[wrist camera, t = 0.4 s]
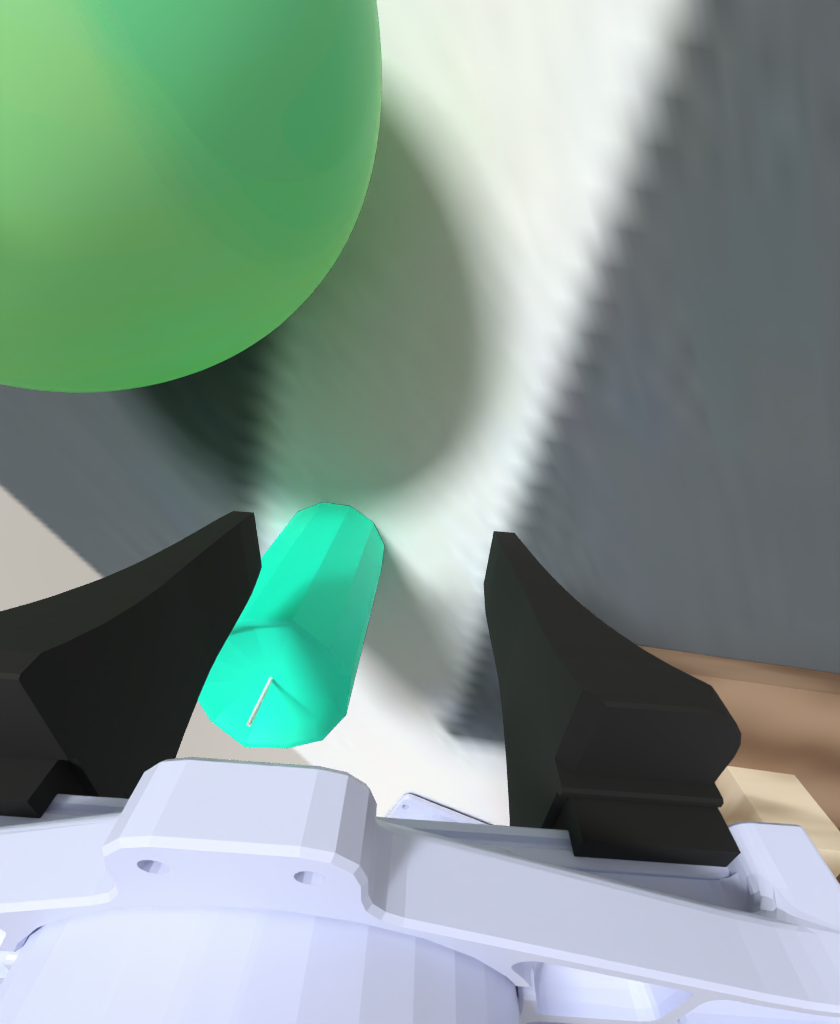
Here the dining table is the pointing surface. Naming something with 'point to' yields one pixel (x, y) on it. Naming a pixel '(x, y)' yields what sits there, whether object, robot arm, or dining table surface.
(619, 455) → the dining table surface
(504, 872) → the robot arm
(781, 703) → the box
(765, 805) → the beech block
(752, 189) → the dining table surface
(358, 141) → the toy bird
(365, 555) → the candle
